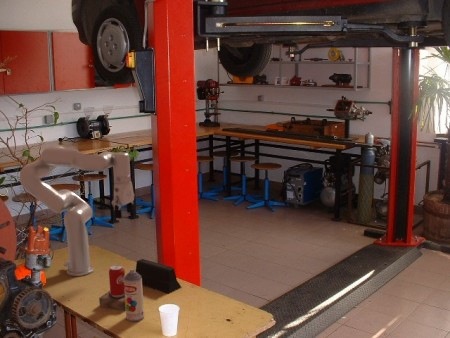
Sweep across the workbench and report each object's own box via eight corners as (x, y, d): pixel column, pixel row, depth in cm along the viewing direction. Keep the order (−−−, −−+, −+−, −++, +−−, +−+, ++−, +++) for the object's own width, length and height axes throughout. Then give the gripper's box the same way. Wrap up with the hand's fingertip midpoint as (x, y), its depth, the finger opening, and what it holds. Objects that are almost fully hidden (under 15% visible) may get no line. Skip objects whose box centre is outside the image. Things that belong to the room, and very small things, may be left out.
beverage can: (123, 298, 224) (121, 270, 221) (108, 297, 224) (106, 269, 222) (128, 292, 230) (126, 264, 227) (113, 291, 231) (111, 264, 228)
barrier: (130, 282, 252) (129, 261, 250) (144, 276, 258) (143, 256, 256) (168, 294, 237) (167, 272, 235) (182, 287, 244) (181, 266, 242)
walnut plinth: (99, 307, 226) (99, 297, 226) (115, 295, 237) (115, 285, 237) (125, 311, 222) (124, 300, 221) (140, 299, 233) (139, 289, 232)
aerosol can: (123, 320, 214) (119, 271, 210) (132, 313, 220) (129, 265, 216) (138, 323, 212) (135, 273, 208) (147, 315, 218) (144, 267, 214)
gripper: (118, 183, 246) (120, 221, 249) (139, 176, 261) (141, 211, 265) (104, 182, 249) (106, 219, 252) (126, 175, 264) (128, 209, 268)
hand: (124, 215), depth 258 cm, fingers open, 9 cm apart
